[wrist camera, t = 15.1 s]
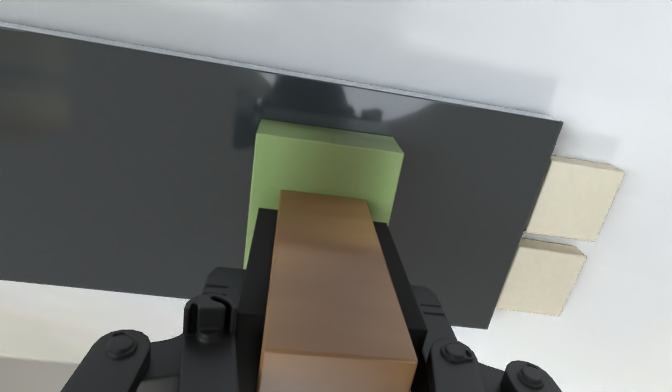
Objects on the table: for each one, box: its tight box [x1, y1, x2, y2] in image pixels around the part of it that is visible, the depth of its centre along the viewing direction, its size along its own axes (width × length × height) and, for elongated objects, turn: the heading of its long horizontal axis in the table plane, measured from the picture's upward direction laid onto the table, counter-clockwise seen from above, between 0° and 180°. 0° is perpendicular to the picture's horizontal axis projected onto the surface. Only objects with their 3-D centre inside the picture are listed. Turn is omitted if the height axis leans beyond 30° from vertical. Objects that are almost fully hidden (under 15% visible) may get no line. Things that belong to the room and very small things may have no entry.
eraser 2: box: [495, 238, 587, 316], centre depth 26 cm, size 4×4×1 cm
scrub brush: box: [243, 119, 418, 392], centre depth 16 cm, size 6×8×12 cm
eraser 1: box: [524, 155, 625, 242], centre depth 24 cm, size 4×4×1 cm
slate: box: [0, 21, 563, 329], centre depth 22 cm, size 26×12×2 cm, turn 80°
